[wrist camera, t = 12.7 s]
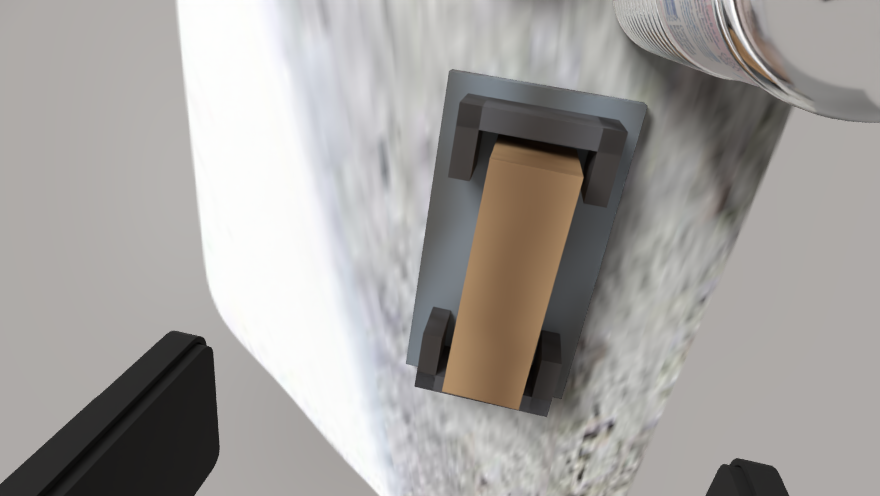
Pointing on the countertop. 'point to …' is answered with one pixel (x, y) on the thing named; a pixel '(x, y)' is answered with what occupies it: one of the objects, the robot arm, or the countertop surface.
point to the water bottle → (772, 47)
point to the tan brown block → (512, 268)
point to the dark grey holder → (458, 202)
